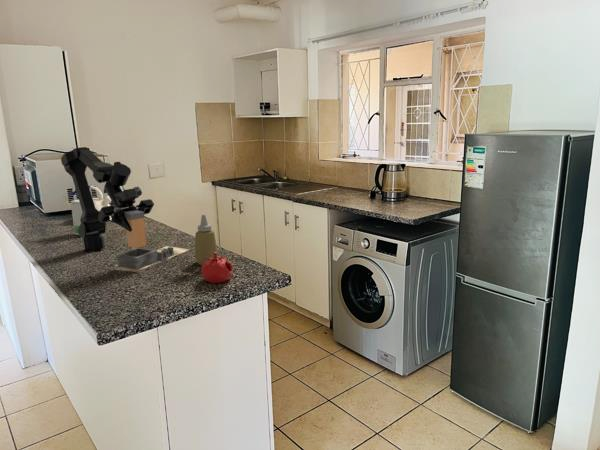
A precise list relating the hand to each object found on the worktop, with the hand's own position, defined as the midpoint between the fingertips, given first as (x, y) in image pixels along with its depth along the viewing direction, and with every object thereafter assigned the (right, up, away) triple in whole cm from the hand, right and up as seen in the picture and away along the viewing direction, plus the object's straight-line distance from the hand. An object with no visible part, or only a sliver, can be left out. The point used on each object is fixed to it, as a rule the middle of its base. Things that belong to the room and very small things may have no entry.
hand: (137, 229), depth 155 cm
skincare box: (-42, -3, +51) cm, 66 cm away
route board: (+3, -11, +11) cm, 16 cm away
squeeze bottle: (+23, -13, +3) cm, 27 cm away
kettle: (-51, +4, +79) cm, 94 cm away
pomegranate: (+30, -16, -12) cm, 36 cm away
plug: (-1, -6, +2) cm, 6 cm away
